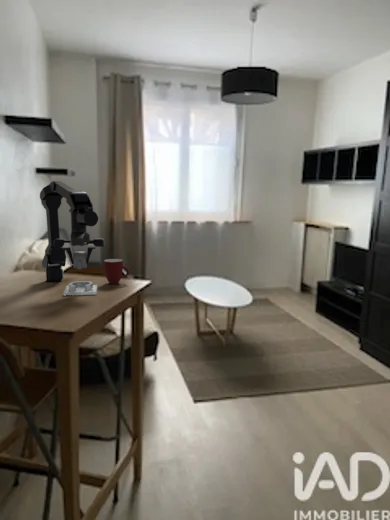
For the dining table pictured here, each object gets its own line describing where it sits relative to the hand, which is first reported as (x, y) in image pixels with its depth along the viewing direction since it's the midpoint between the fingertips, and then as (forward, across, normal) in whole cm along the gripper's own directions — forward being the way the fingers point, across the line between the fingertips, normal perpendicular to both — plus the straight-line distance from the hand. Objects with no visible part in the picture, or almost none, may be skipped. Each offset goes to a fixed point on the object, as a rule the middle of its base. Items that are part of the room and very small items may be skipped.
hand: (80, 264), depth 157 cm
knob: (+1, 0, 0) cm, 1 cm away
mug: (+11, +14, +13) cm, 22 cm away
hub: (+11, 0, 0) cm, 11 cm away
